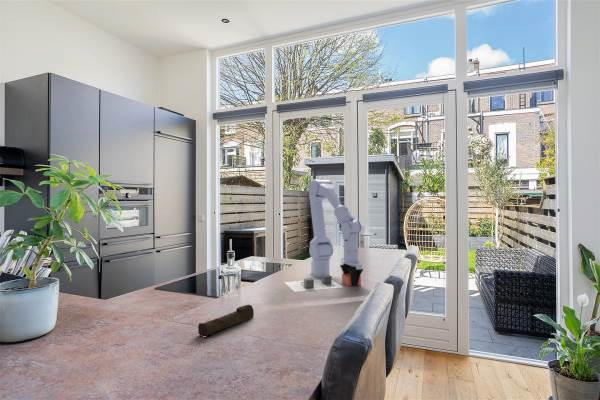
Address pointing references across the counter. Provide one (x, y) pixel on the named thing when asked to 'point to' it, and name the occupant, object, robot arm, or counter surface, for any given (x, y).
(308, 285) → the block
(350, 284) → the coral red cube
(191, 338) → the counter surface
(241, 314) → the hand tool
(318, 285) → the breaker panel
